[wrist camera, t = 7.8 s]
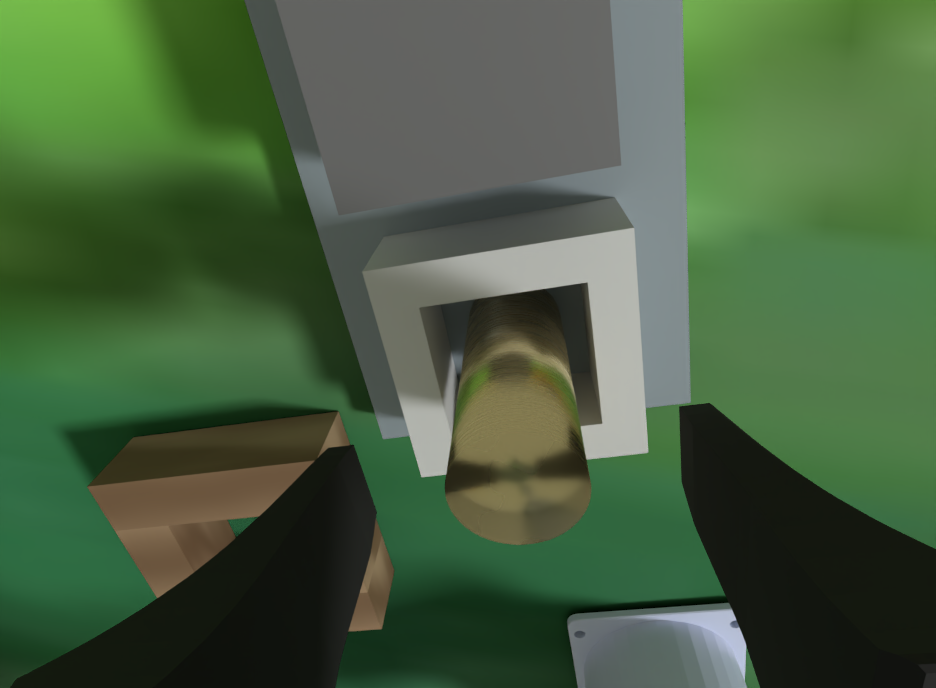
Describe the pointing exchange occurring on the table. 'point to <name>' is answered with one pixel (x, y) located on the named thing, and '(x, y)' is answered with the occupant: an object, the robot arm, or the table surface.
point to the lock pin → (517, 425)
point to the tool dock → (494, 191)
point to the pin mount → (219, 497)
